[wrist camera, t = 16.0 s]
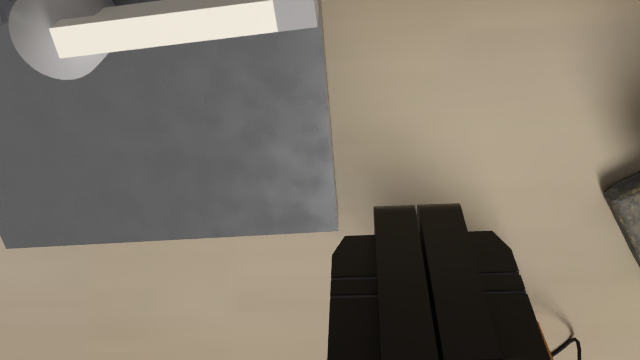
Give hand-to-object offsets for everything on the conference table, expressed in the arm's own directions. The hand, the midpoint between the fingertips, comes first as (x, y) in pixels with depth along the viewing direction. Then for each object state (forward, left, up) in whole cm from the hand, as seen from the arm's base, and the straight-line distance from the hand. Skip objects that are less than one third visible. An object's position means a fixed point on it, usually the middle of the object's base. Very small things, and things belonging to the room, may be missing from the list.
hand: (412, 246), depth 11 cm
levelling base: (+6, -15, -28) cm, 32 cm away
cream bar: (+2, -11, -26) cm, 28 cm away
